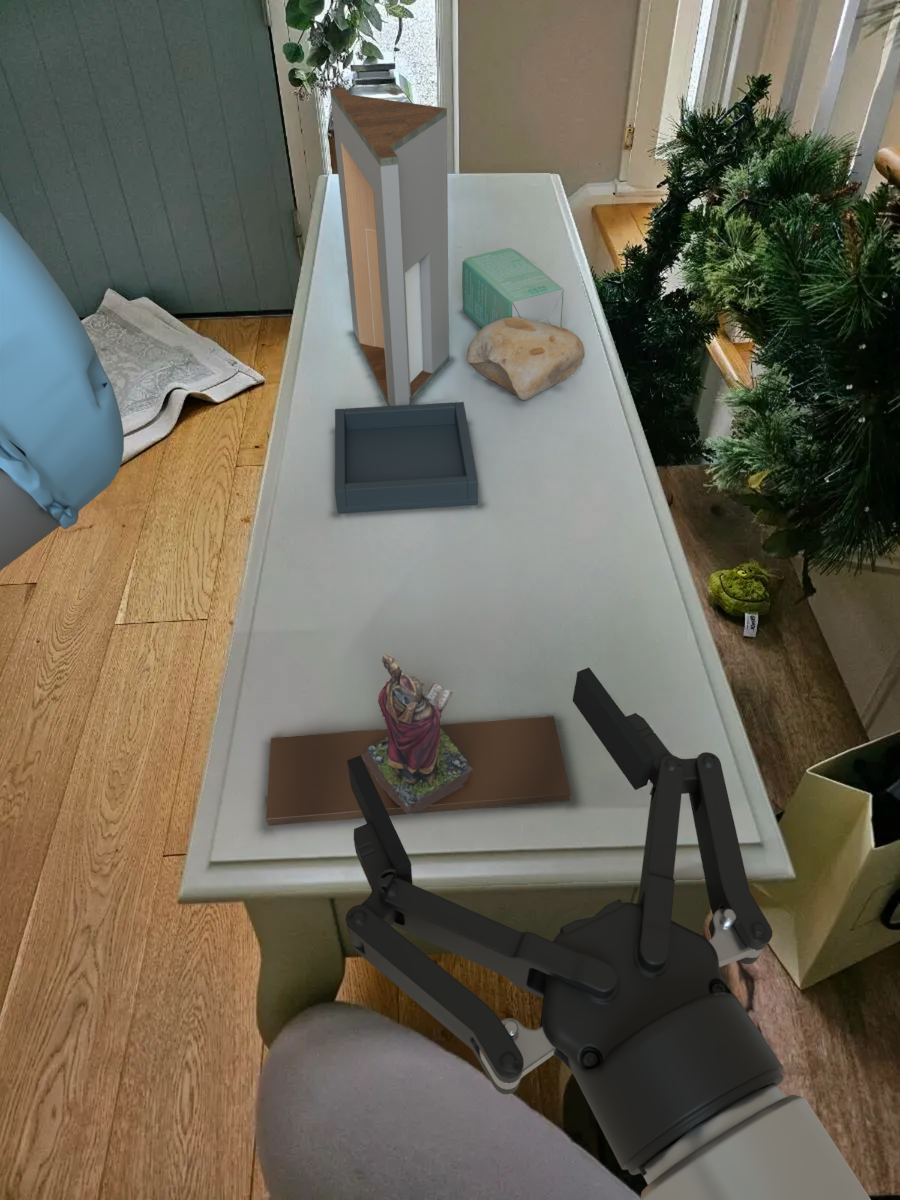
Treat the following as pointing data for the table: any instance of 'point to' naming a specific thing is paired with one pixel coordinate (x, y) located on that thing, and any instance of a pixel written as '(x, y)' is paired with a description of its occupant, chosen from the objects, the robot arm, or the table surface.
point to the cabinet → (395, 236)
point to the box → (509, 289)
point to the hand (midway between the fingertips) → (472, 725)
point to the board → (499, 778)
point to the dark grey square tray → (403, 458)
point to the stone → (525, 354)
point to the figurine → (415, 744)
